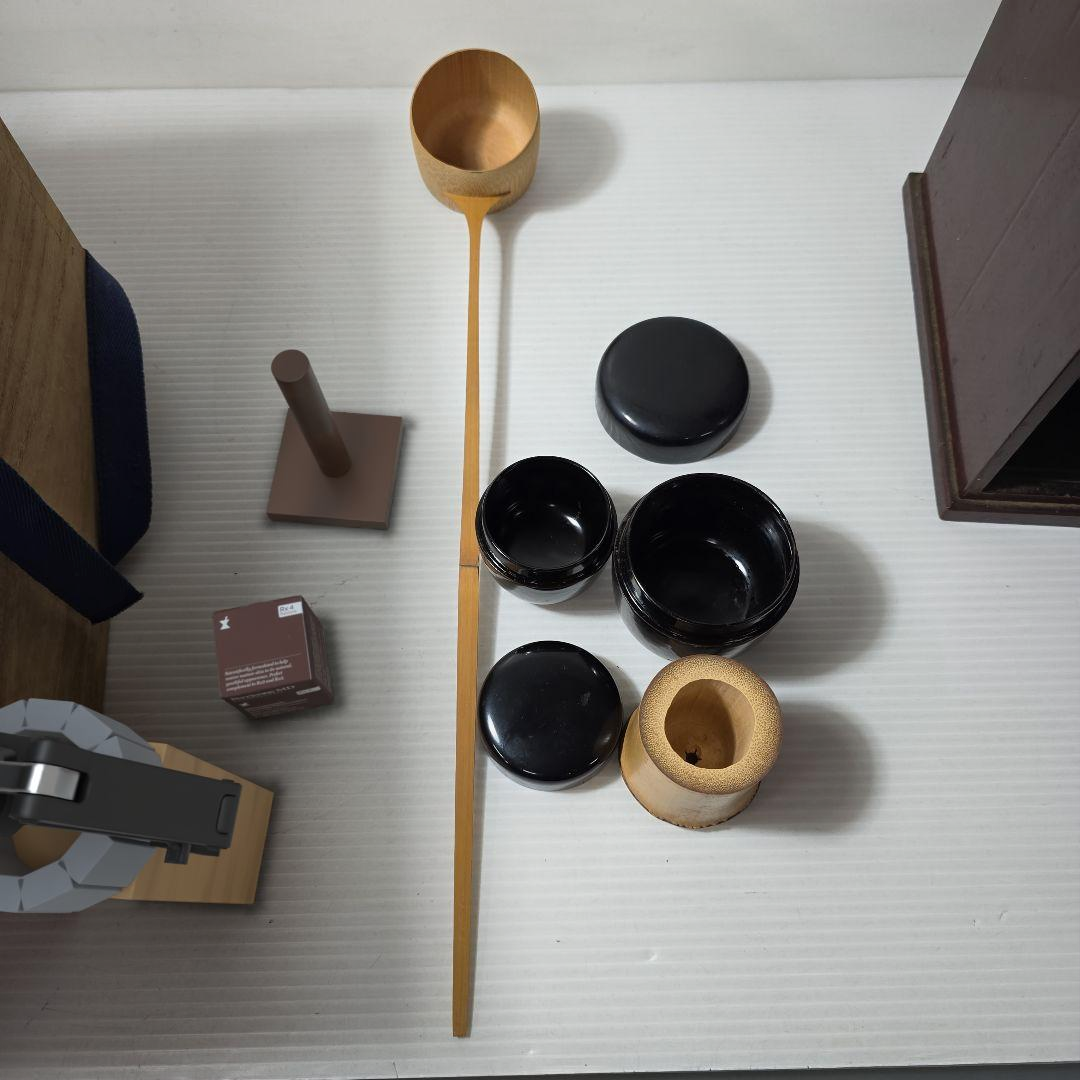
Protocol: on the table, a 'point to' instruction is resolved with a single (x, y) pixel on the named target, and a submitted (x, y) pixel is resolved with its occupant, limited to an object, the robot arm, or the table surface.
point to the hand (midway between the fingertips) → (77, 813)
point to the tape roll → (92, 858)
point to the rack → (331, 456)
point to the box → (272, 657)
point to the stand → (203, 874)
